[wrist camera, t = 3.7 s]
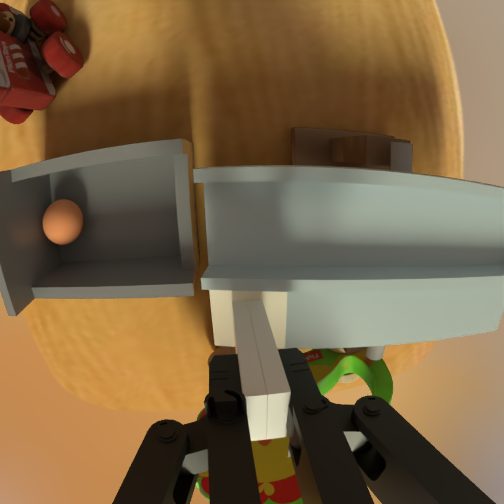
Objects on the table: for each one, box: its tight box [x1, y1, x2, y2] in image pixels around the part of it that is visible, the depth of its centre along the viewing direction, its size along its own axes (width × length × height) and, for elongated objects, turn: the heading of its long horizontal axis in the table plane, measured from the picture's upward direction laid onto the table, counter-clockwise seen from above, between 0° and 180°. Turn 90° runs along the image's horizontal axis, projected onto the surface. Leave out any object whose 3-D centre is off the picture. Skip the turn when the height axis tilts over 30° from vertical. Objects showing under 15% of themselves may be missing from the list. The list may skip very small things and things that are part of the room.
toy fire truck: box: [0, 0, 84, 124], centre depth 9 cm, size 7×12×10 cm, turn 28°
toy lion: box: [195, 346, 393, 504], centre depth 18 cm, size 16×5×15 cm, turn 101°
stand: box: [292, 127, 410, 353], centre depth 19 cm, size 15×8×6 cm, turn 1°
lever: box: [193, 142, 504, 360], centre depth 14 cm, size 13×20×3 cm, turn 91°
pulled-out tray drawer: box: [0, 138, 200, 316], centre depth 15 cm, size 9×12×8 cm
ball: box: [43, 199, 83, 245], centre depth 17 cm, size 3×3×3 cm
